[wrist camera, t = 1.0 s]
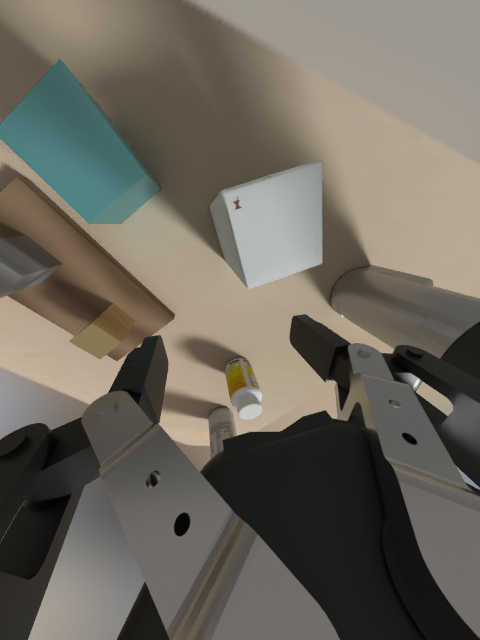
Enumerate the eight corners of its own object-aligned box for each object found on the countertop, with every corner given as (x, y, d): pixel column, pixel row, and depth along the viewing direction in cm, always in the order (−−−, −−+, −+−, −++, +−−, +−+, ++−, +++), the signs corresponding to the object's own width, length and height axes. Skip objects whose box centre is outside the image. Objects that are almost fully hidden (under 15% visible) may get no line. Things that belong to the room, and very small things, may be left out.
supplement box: (225, 263, 25) (245, 292, 15) (207, 204, 21) (217, 186, 11) (271, 248, 26) (324, 265, 15) (262, 188, 22) (325, 154, 11)
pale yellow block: (113, 303, 23) (91, 323, 19) (135, 320, 25) (121, 342, 20) (94, 318, 24) (68, 341, 19) (117, 334, 26) (100, 359, 21)
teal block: (109, 118, 16) (60, 58, 11) (161, 188, 20) (145, 173, 14) (64, 163, 17) (-7, 131, 11) (120, 223, 21) (89, 223, 15)
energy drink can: (209, 423, 44) (214, 505, 31) (206, 408, 41) (211, 493, 28) (233, 418, 45) (247, 495, 32) (231, 403, 42) (246, 483, 29)
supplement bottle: (221, 375, 36) (229, 423, 28) (228, 355, 34) (238, 400, 25) (245, 376, 38) (260, 422, 29) (253, 357, 36) (271, 400, 27)
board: (29, 179, 17) (-59, 156, 11) (174, 314, 28) (168, 339, 22) (-44, 252, 19) (-156, 266, 13) (120, 355, 29) (100, 389, 23)
